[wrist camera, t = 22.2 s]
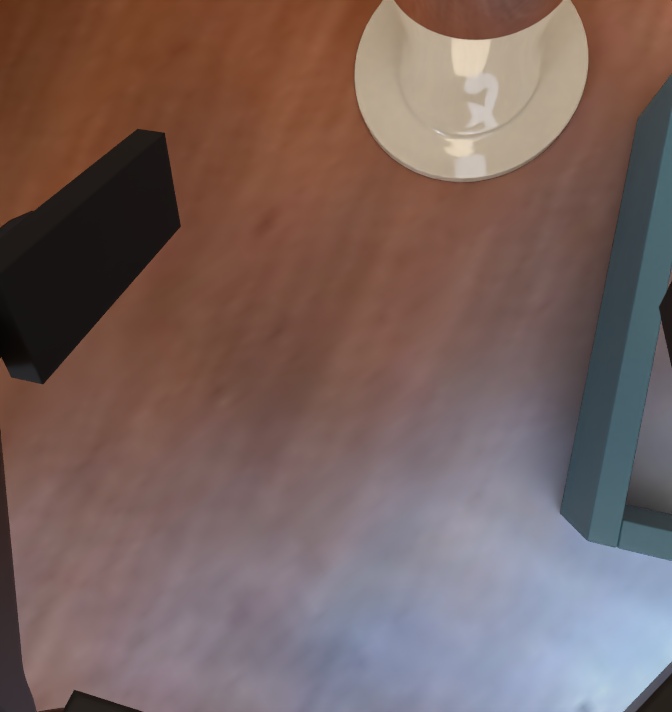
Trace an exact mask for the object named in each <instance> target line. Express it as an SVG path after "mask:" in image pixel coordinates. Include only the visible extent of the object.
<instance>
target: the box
mask: <svg viewBox="0 0 672 712" xmlns="http://www.w3.org/2000/svg"><path fill="white" fill-rule="evenodd" d="M671 267H672V74H671V75H670V77H669V78H668V79H667V81H666V82H665V83H664V85H663V86H662V87H661V89H660V90H659V91H658V93H657V94H656V95H655V97H654V98H653V99H652V100H651V102H650V103H649V104H648V106H647V107H646V108H645V110H644V111H643V112H642V114H641V115H640V116H639V118H638V120H637V125H636V130H635V135H634V140H633V146H632V151H631V156H630V161H629V166H628V171H627V176H626V181H625V186H624V191H623V196H622V201H621V206H620V212H619V217H618V222H617V227H616V232H615V237H614V242H613V247H612V252H611V257H610V262H609V267H608V273H607V278H606V283H605V288H604V293H603V298H602V303H601V308H600V313H599V318H598V323H597V328H596V333H595V339H594V344H593V349H592V354H591V359H590V364H589V369H588V374H587V379H586V384H585V389H584V394H583V400H582V405H581V410H580V415H579V420H578V425H577V430H576V435H575V440H574V445H573V450H572V455H571V460H570V466H569V471H568V476H567V481H566V486H565V491H564V496H563V501H562V506H561V511H560V514H561V515H562V516H563V517H564V518H565V519H566V520H567V521H568V522H569V523H570V524H571V525H572V526H573V527H574V528H575V529H576V530H577V531H578V532H579V533H580V534H581V535H582V536H583V537H584V538H585V539H586V540H587V541H590V542H594V543H598V544H603V545H607V546H611V547H618V548H620V549H624V550H628V551H632V552H637V553H641V554H645V555H649V556H653V557H657V558H662V559H666V560H670V561H672V515H670V514H666V513H661V512H657V511H652V510H648V509H643V508H639V507H635V506H630V505H626V504H625V503H626V498H627V493H628V488H629V483H630V478H631V472H632V467H633V462H634V457H635V452H636V447H637V442H638V436H639V431H640V426H641V421H642V416H643V411H644V406H645V400H646V395H647V390H648V385H649V380H650V375H651V370H652V365H653V359H654V354H655V349H656V344H657V339H658V334H659V329H660V323H661V316H660V311H659V306H660V304H661V302H662V300H663V298H664V296H665V294H666V292H667V287H668V282H669V277H670V272H671Z"/></svg>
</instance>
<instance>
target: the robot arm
mask: <svg viewBox="0 0 672 712" xmlns="http://www.w3.org/2000/svg"><path fill="white" fill-rule="evenodd" d="M180 226H181V225H180V219H179V214H178V208H177V202H176V196H175V190H174V185H173V179H172V173H171V167H170V161H169V156H168V150H167V144H166V138H165V133H162V132H155V131H148V130H141V129H137V130H136V131H134V132H133V133H132V134H131V135H129V136H128V137H127V138H126V139H124V140H123V141H122V142H121V143H119V144H118V145H117V146H115V147H114V148H113V149H112V150H110V151H109V152H108V153H107V154H105V155H104V156H103V157H102V158H100V159H99V160H98V161H97V162H95V163H94V164H93V165H91V166H90V167H89V168H88V169H86V170H85V171H84V172H83V173H81V174H80V175H79V176H78V177H76V178H75V179H74V180H73V181H71V182H70V183H69V184H67V185H66V186H65V187H64V188H62V189H61V190H60V191H59V192H57V193H56V194H55V195H54V196H52V197H51V198H50V199H49V200H47V201H46V202H45V203H43V204H42V205H41V206H40V207H38V208H37V209H36V210H35V211H30V212H28V213H26V214H23V215H21V216H19V217H16V218H14V219H12V220H10V221H8V222H7V223H6V224H5V225H3V226H2V227H1V228H0V358H1V357H2V359H3V361H4V363H5V365H6V367H7V369H8V371H9V373H10V375H11V377H13V378H18V379H22V380H26V381H31V382H35V383H40V384H44V383H45V382H46V380H47V379H48V378H49V377H50V376H51V375H52V374H53V372H54V371H55V370H56V369H57V368H58V367H59V365H60V364H61V363H62V362H63V361H64V360H65V359H66V357H67V356H68V355H69V354H70V353H71V352H72V351H73V349H74V348H75V347H76V346H77V345H78V344H79V343H80V341H81V340H82V339H83V338H84V337H85V336H86V334H87V333H88V332H89V331H90V330H91V329H92V328H93V326H94V325H95V324H96V323H97V322H98V321H99V320H100V318H101V317H102V316H103V315H104V314H105V313H106V311H107V310H108V309H109V308H110V307H111V306H112V305H113V303H114V302H115V301H116V300H117V299H118V298H119V297H120V295H121V294H122V293H123V292H124V291H125V290H126V289H127V287H128V286H129V285H130V284H131V283H132V282H133V280H134V279H135V278H136V277H137V276H138V275H139V274H140V272H141V271H142V270H143V269H144V268H145V267H146V266H147V264H148V263H149V262H150V261H151V260H152V259H153V258H154V256H155V255H156V254H157V253H158V252H159V251H160V249H161V248H162V247H163V246H164V245H165V244H166V243H167V241H168V240H169V239H170V238H171V237H172V236H173V235H174V233H175V232H176V231H177V230H178V229H179V228H180ZM659 311H660V316H661V320H662V325H663V329H664V334H665V339H666V343H667V348H668V352H669V357H670V362H671V366H672V282H671V284H670V286H669V288H668V290H667V292H666V294H665V296H664V298H663V300H662V302H661V304H660V306H659ZM0 712H37V711H36V707H35V703H34V700H33V697H32V694H31V691H30V689H29V686H28V684H27V681H26V678H25V674H24V670H23V664H22V655H21V644H20V634H19V623H18V612H17V602H16V591H15V580H14V570H13V559H12V548H11V538H10V527H9V516H8V506H7V495H6V485H5V474H4V463H3V453H2V442H1V431H0ZM39 712H142V711H139V710H136V709H133V708H130V707H126V706H123V705H120V704H117V703H114V702H111V701H108V700H105V699H101V698H98V697H95V696H92V695H89V694H86V693H83V692H80V691H76V690H74V691H73V693H72V695H71V697H70V699H69V701H68V702H67V704H66V706H65V708H57V709H50V710H44V711H39ZM624 712H672V662H671V663H670V664H669V665H668V666H667V667H666V668H665V669H664V670H663V671H662V672H661V673H660V674H659V675H658V676H657V677H656V678H655V679H654V681H653V682H652V683H651V684H650V685H649V686H648V687H647V688H646V689H645V690H644V691H643V692H642V693H641V694H640V695H639V696H638V697H637V698H636V699H635V700H634V701H633V702H632V703H631V705H630V706H629V707H628V708H627V709H626V710H625V711H624Z"/></svg>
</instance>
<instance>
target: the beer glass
mask: <svg viewBox="0 0 672 712" xmlns="http://www.w3.org/2000/svg"><path fill="white" fill-rule="evenodd" d="M562 1H563V0H394V3H395V5H396V8H397V10H398V12H399V15H400V17H401V20H402V23H403V26H404V31H405V32H404V39H403V43H402V47H401V52H400V57H399V81H400V86H401V89H402V92H403V95H404V98H405V100H406V102H407V103H408V105H409V107H410V108H411V110H412V111H413V112H414V113H415V114H416V115H417V116H418V117H419V118H420V119H421V120H422V121H423V122H425V123H426V124H428V125H429V126H431V127H433V128H435V129H437V130H440V131H443V132H446V133H450V134H456V135H473V134H480V133H484V132H487V131H490V130H493V129H495V128H498V127H500V126H502V125H503V124H505V123H507V122H508V121H510V120H511V119H512V118H514V117H515V116H516V115H517V114H518V113H519V112H520V111H521V110H522V109H523V108H524V107H525V106H526V104H527V103H528V102H529V100H530V99H531V97H532V95H533V94H534V92H535V90H536V87H537V85H538V82H539V79H540V75H541V71H542V65H543V33H544V30H545V28H546V26H547V25H548V23H549V21H550V20H551V18H552V17H553V15H554V14H555V12H556V11H557V9H558V8H559V6H560V5H561V3H562Z"/></svg>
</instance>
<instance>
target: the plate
mask: <svg viewBox="0 0 672 712" xmlns="http://www.w3.org/2000/svg"><path fill="white" fill-rule="evenodd" d="M404 32H405V31H404V26H403V23H402V20H401V17H400V15H399V12H398V10H397V8H396V5H395V3H394V0H383V1H382V3H381V4H380V5H379V7H378V8H377V9H376V11H375V12H374V13H373V15H372V17H371V19H370V20H369V22H368V24H367V26H366V28H365V30H364V33H363V35H362V37H361V40H360V43H359V47H358V51H357V55H356V62H355V90H356V97H357V101H358V104H359V108H360V112H361V115H362V117H363V119H364V122H365V124H366V126H367V128H368V130H369V131H370V133H371V135H372V136H373V138H374V139H375V140H376V142H377V143H378V144H379V145H380V147H381V148H382V149H383V150H384V151H385V152H386V153H387V154H388V155H390V156H391V157H392V158H393V159H394V160H396V161H397V162H399V163H400V164H401V165H403V166H404V167H406V168H408V169H410V170H412V171H414V172H416V173H419V174H421V175H424V176H427V177H430V178H434V179H439V180H443V181H453V182H472V181H480V180H486V179H491V178H495V177H498V176H501V175H504V174H507V173H509V172H512V171H514V170H516V169H518V168H520V167H522V166H524V165H525V164H527V163H529V162H530V161H532V160H534V159H535V158H536V157H537V156H539V155H540V154H541V153H543V152H544V151H545V150H546V149H547V148H548V147H549V146H550V145H551V144H552V143H553V142H554V141H555V140H556V139H557V138H558V137H559V136H560V134H561V133H562V132H563V130H564V129H565V128H566V126H567V125H568V123H569V121H570V120H571V118H572V116H573V114H574V113H575V111H576V109H577V106H578V104H579V102H580V99H581V97H582V95H583V91H584V87H585V83H586V80H587V72H588V45H587V39H586V34H585V30H584V27H583V24H582V21H581V19H580V17H579V14H578V12H577V10H576V8H575V7H574V5H573V4H572V2H571V1H570V0H563V1H562V3H561V5H560V6H559V8H558V9H557V11H556V12H555V14H554V15H553V17H552V18H551V20H550V21H549V23H548V25H547V26H546V28H545V30H544V33H543V65H542V71H541V75H540V79H539V82H538V85H537V87H536V90H535V92H534V94H533V95H532V97H531V99H530V100H529V102H528V103H527V104H526V106H525V107H524V108H523V109H522V110H521V111H520V112H519V113H518V114H517V115H516V116H515V117H514V118H512V119H511V120H510V121H508V122H507V123H505V124H503V125H502V126H500V127H498V128H495V129H493V130H490V131H487V132H484V133H480V134H473V135H456V134H450V133H446V132H443V131H440V130H437V129H435V128H433V127H431V126H429V125H428V124H426V123H425V122H423V121H422V120H421V119H420V118H419V117H418V116H417V115H416V114H415V113H414V112H413V111H412V110H411V108H410V107H409V105H408V103H407V102H406V100H405V98H404V95H403V92H402V89H401V86H400V81H399V57H400V52H401V47H402V43H403V39H404Z"/></svg>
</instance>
